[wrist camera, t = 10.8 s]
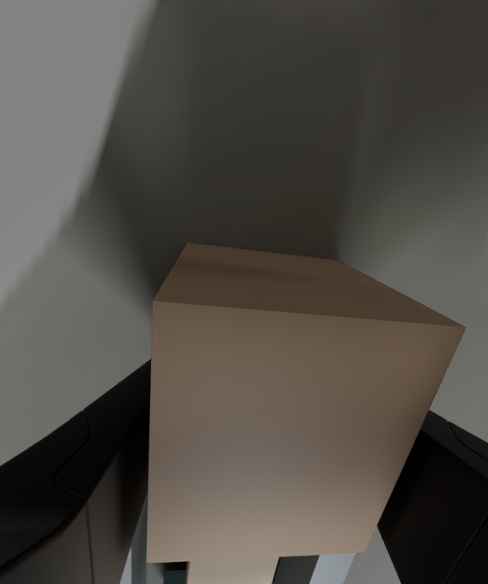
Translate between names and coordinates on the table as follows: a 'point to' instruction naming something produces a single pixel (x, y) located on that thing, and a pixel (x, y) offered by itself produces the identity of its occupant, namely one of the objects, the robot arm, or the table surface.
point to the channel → (289, 577)
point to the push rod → (225, 572)
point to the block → (282, 403)
